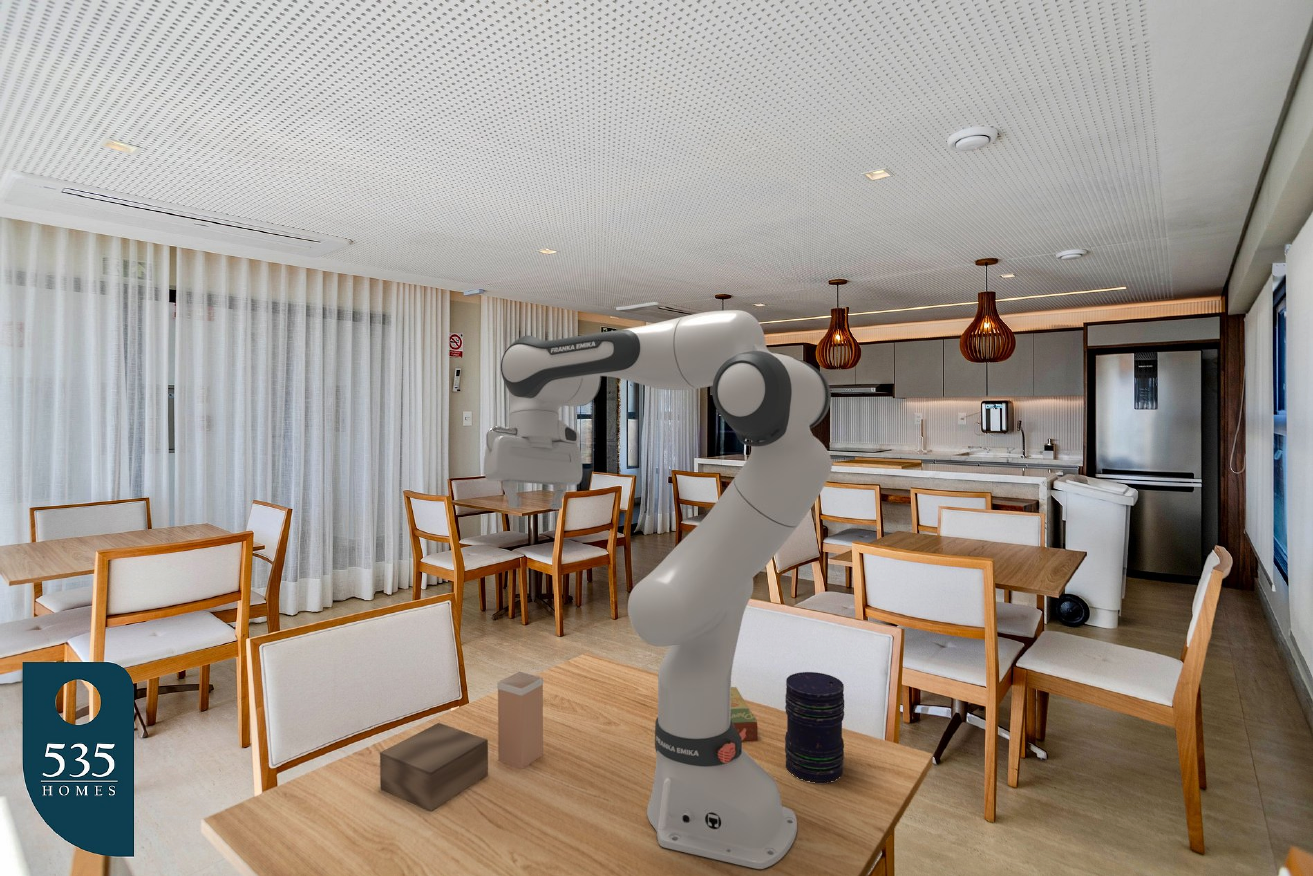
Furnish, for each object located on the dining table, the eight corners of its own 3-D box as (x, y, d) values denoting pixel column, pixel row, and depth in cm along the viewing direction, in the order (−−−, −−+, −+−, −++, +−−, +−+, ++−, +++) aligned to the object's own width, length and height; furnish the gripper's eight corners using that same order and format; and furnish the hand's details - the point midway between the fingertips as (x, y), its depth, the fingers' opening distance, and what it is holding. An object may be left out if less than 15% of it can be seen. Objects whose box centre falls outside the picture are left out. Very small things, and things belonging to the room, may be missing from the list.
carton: (737, 705, 138) (737, 685, 138) (758, 743, 122) (759, 720, 122) (698, 707, 137) (698, 687, 137) (715, 745, 121) (715, 722, 121)
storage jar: (791, 784, 107) (792, 695, 107) (779, 754, 117) (780, 671, 117) (851, 784, 108) (852, 694, 107) (834, 753, 117) (835, 671, 117)
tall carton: (543, 754, 117) (543, 677, 116) (522, 769, 112) (521, 688, 112) (519, 747, 120) (519, 671, 119) (497, 760, 115) (497, 682, 114)
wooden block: (488, 774, 110) (487, 739, 110) (431, 811, 100) (430, 772, 100) (438, 756, 116) (438, 722, 116) (380, 788, 106) (380, 752, 106)
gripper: (498, 421, 107) (499, 505, 105) (586, 434, 123) (589, 508, 120) (475, 427, 111) (475, 508, 108) (563, 440, 127) (565, 511, 124)
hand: (536, 508), depth 115 cm, fingers open, 8 cm apart
